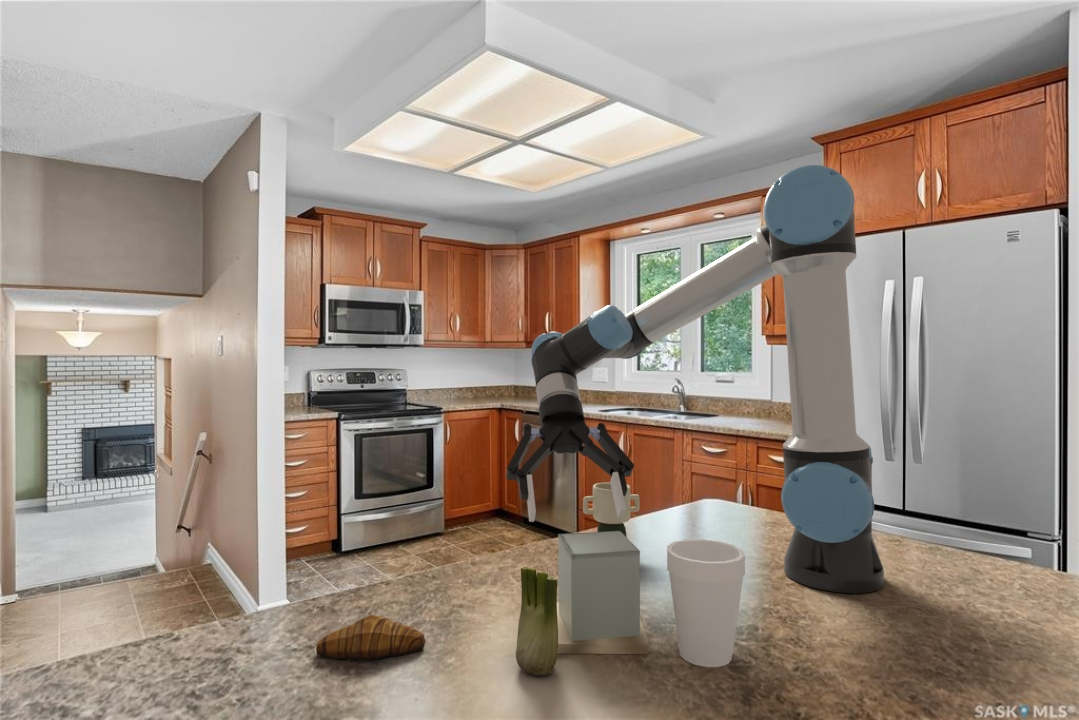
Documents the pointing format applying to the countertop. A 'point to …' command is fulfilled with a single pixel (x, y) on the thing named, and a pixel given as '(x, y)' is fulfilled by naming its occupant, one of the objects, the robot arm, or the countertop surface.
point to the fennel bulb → (537, 623)
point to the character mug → (609, 508)
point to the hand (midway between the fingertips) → (577, 515)
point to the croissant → (371, 640)
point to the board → (601, 643)
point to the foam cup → (706, 598)
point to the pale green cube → (599, 585)
